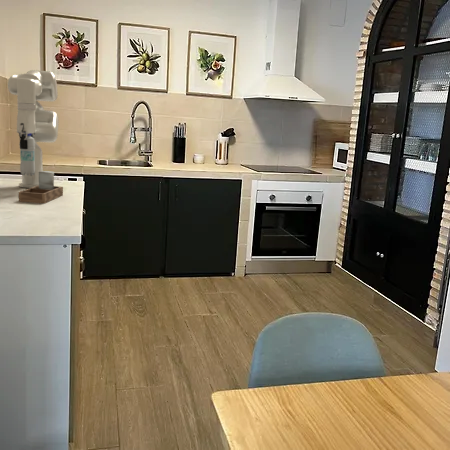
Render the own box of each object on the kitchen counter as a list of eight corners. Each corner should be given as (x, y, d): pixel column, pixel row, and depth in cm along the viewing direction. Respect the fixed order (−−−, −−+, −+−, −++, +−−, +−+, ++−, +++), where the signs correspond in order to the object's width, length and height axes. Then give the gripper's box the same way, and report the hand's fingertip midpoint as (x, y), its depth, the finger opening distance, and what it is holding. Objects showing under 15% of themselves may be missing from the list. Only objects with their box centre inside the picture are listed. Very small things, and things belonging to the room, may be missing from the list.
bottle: (38, 175, 231) (38, 131, 226) (27, 176, 225) (26, 131, 220) (27, 173, 233) (27, 129, 229) (16, 174, 227) (15, 129, 223)
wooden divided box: (39, 193, 232) (39, 169, 229) (62, 195, 232) (62, 171, 229) (18, 201, 210) (18, 175, 208) (44, 203, 210) (44, 177, 208)
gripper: (26, 106, 230) (27, 146, 235) (9, 107, 214) (10, 149, 218) (42, 108, 230) (43, 147, 235) (27, 108, 213) (27, 150, 218)
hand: (27, 147), depth 226 cm, fingers closed on bottle, 6 cm apart
